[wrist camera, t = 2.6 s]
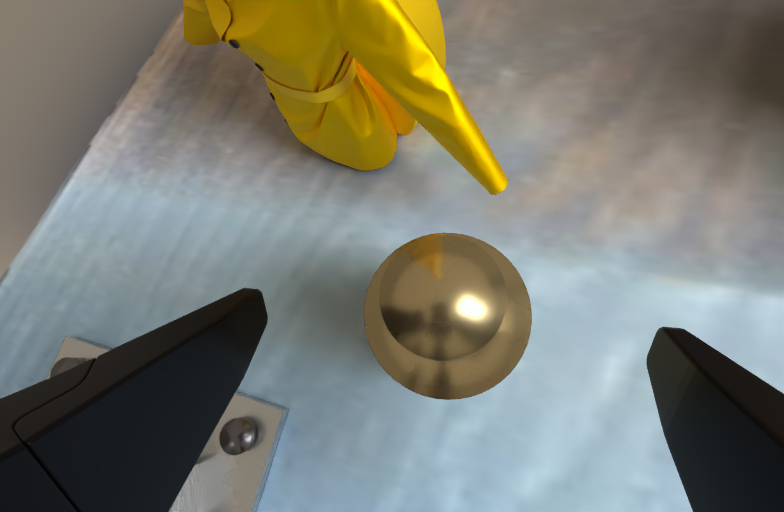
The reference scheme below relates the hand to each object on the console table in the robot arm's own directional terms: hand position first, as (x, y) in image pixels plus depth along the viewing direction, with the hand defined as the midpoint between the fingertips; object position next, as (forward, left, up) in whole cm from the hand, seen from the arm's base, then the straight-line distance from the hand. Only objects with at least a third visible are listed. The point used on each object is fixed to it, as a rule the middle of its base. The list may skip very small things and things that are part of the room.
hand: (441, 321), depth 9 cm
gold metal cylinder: (0, 0, -8) cm, 8 cm away
